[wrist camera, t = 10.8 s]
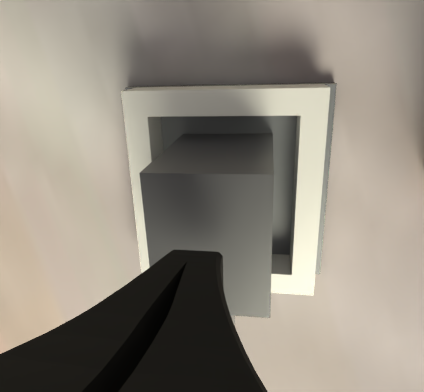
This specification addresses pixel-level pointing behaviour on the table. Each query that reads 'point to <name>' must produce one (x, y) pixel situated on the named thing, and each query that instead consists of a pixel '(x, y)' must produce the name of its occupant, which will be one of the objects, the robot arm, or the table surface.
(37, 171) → the table surface
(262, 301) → the plug
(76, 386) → the robot arm
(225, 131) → the socket plate
